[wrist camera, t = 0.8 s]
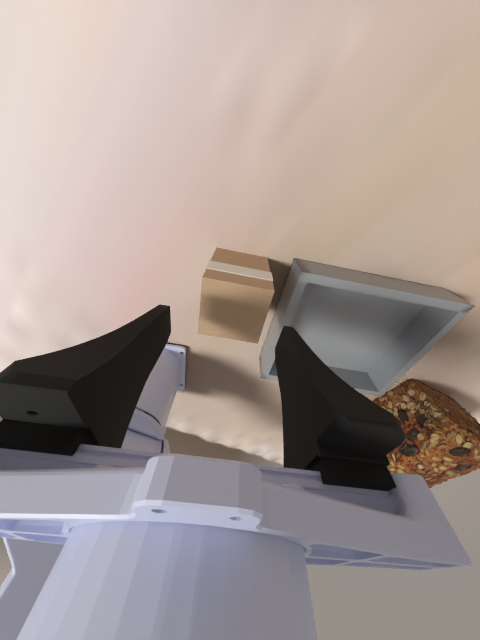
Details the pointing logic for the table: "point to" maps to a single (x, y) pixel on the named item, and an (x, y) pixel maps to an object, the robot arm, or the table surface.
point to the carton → (235, 296)
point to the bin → (361, 322)
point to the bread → (431, 434)
